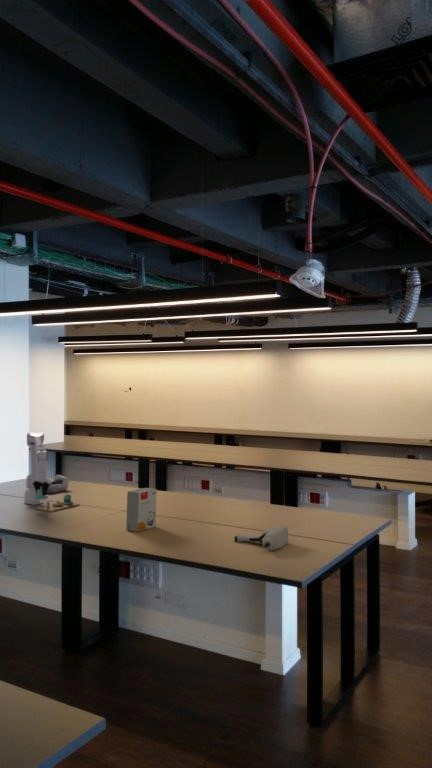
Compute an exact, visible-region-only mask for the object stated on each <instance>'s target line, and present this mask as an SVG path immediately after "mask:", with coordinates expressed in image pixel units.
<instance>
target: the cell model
mask: <svg viewBox="0 0 432 768" xmlns="http://www.w3.org/2000/svg"><path fill="white" fill-rule="evenodd" d="M69 482H70V481H69V477H68V476H64V475H61V474H56V475H55V476H54V478H53V481H51V484H50V485H49V487H48V489H47V493H46V494H54V493H57V492H63V491H67V490H68V488H69ZM41 489H42V488H41Z"/></svg>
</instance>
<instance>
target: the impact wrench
mask: <svg viewBox="0 0 432 768" xmlns="http://www.w3.org/2000/svg"><path fill="white" fill-rule="evenodd" d="M234 542H235V543H236V542H237V543H242V542H257V543H260V544H261V545H262V546H263V548H264V549H266V550H267V551H270V552H271V551H276V550H278V549H281V548H282V547H284V546H285V545H287V544H288V542H289V531H288V527H287V526H274V527H269V528H268V529H266V530H265V531H264V532H262V533H261V534H256V535H255V534H253V535H252V534H245V533H237V535H236V536H235V535H234Z"/></svg>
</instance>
